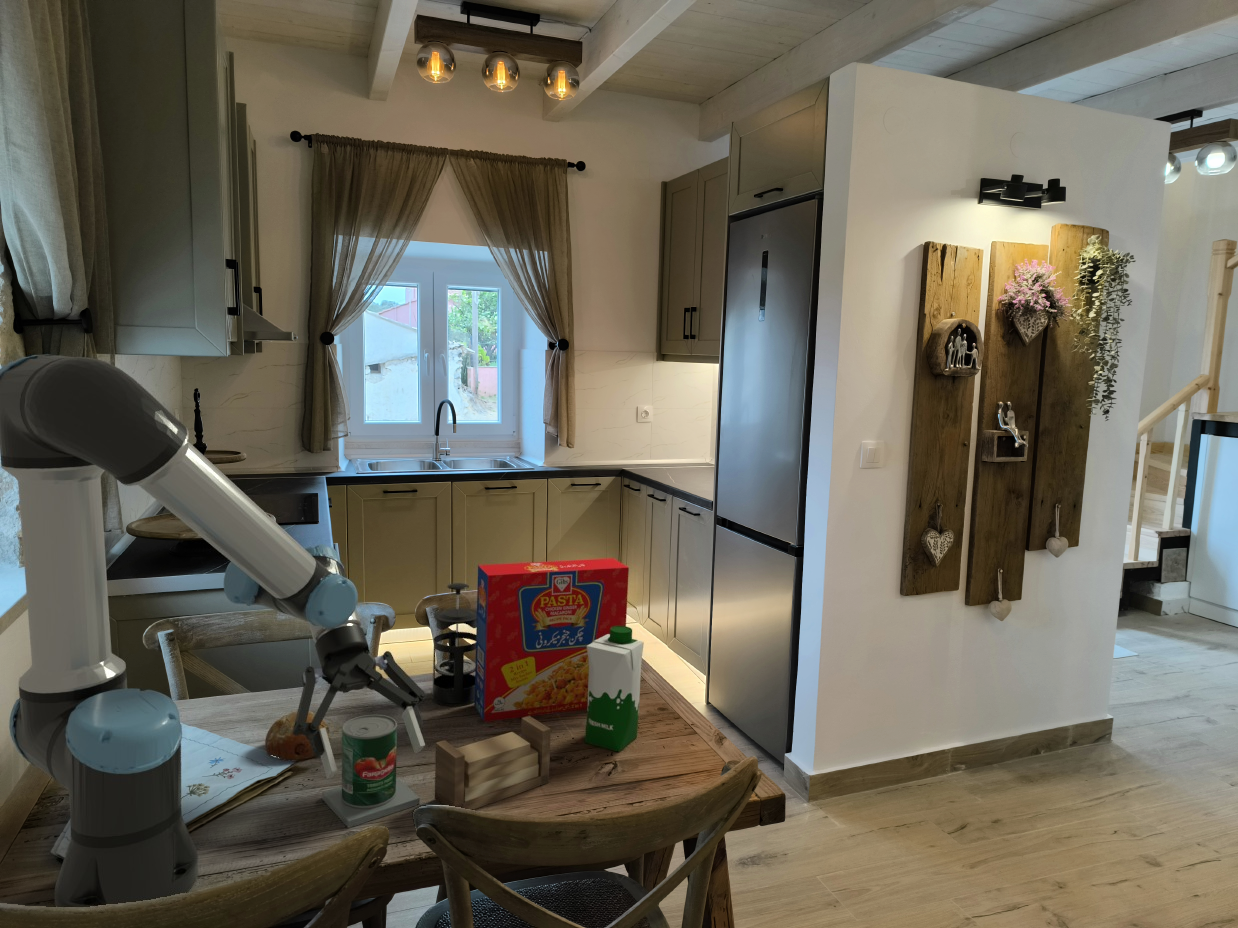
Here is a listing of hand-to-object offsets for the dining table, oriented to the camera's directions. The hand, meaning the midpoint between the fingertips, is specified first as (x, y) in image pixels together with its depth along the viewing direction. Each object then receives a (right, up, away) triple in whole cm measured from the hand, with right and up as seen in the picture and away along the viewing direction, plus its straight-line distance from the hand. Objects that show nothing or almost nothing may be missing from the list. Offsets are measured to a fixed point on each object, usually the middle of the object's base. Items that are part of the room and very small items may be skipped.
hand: (377, 761), depth 121 cm
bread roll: (-19, -5, +18) cm, 27 cm away
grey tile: (-2, -7, +3) cm, 8 cm away
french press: (+3, -3, +43) cm, 43 cm away
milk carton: (+34, -6, +27) cm, 44 cm away
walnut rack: (+16, -7, +7) cm, 19 cm away
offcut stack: (+16, -6, +7) cm, 18 cm away
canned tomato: (-2, -6, +2) cm, 7 cm away
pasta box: (+22, -4, +41) cm, 47 cm away
